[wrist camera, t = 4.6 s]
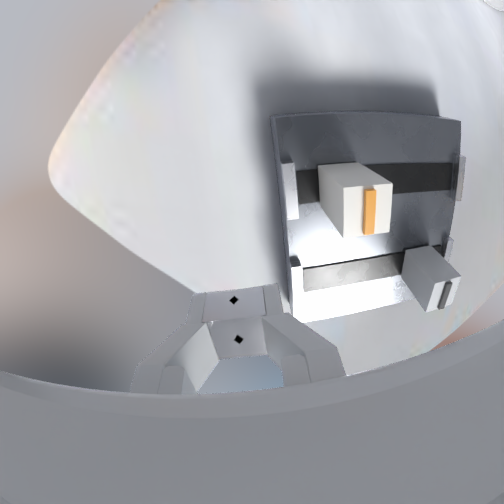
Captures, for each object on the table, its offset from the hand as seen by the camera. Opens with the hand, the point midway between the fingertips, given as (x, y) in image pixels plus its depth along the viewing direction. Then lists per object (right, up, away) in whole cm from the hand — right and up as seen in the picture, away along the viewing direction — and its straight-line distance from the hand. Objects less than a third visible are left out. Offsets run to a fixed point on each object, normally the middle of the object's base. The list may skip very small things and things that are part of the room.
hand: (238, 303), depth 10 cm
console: (+11, +5, +13) cm, 18 cm away
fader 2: (+16, +1, +12) cm, 20 cm away
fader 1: (+7, +7, +9) cm, 13 cm away
